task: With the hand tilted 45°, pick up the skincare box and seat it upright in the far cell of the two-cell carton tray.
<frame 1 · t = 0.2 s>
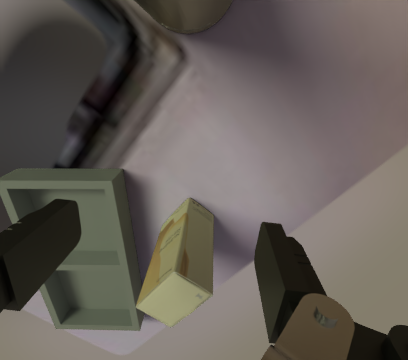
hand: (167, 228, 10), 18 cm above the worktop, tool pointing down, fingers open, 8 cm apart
skincare box: (187, 220, 32), on the worktop
carton tray: (91, 249, 34), on the worktop
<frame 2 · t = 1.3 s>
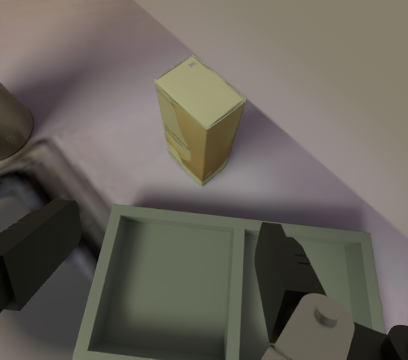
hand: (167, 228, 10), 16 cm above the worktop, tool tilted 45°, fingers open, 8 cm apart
skincare box: (198, 161, 29), on the worktop
carton tray: (231, 289, 24), on the worktop
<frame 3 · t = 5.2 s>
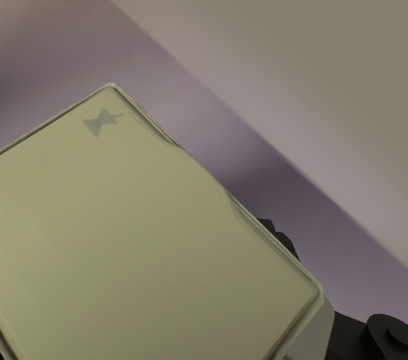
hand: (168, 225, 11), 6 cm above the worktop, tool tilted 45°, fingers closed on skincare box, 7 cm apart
skincare box: (175, 266, 15), on the worktop, touching gripper
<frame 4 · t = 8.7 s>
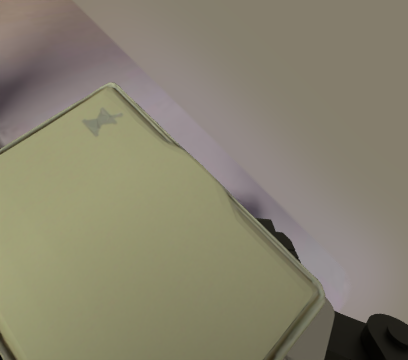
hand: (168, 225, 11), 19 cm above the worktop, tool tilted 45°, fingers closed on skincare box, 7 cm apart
skincare box: (175, 266, 15), point 13 cm above the worktop, touching gripper
when the fingers open (8 cm above the worktop, at t = 12.4 s): skincare box drops 1 cm, resting on carton tray.
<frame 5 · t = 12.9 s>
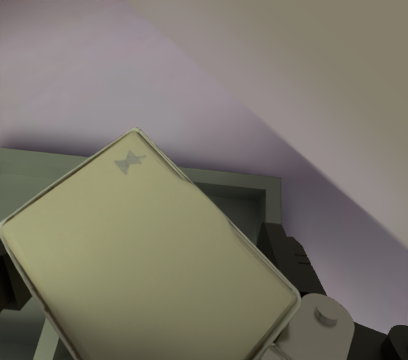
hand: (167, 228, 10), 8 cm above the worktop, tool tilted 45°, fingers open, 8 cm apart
skincare box: (179, 270, 17), point 1 cm above the worktop, touching carton tray
carton tray: (97, 258, 17), on the worktop
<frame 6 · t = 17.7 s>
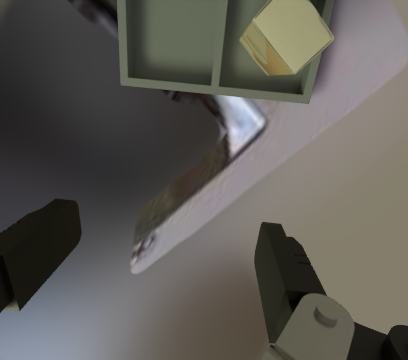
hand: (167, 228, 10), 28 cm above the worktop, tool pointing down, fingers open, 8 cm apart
skincare box: (266, 47, 31), point 1 cm above the worktop, touching carton tray
carton tray: (219, 42, 32), on the worktop
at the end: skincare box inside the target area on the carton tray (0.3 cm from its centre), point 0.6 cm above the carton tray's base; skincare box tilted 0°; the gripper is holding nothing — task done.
